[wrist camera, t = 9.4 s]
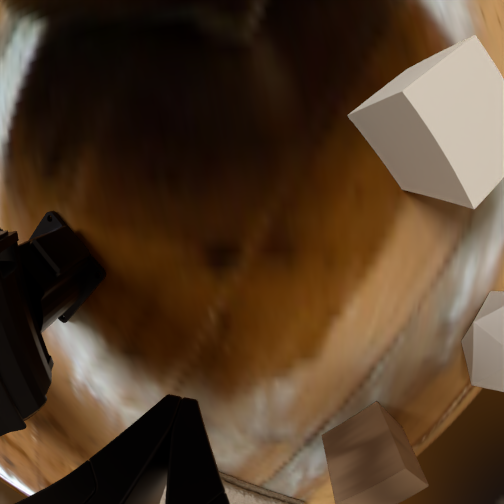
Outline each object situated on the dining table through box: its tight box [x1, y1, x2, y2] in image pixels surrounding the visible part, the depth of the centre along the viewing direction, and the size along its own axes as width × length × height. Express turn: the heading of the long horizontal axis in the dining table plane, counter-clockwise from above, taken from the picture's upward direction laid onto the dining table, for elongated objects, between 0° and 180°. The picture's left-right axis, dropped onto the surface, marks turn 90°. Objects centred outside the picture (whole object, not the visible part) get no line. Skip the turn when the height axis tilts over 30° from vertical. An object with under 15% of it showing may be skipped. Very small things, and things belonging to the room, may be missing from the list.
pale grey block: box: [347, 35, 504, 209], centre depth 14 cm, size 6×6×8 cm
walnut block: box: [322, 401, 429, 504], centre depth 21 cm, size 6×6×8 cm
